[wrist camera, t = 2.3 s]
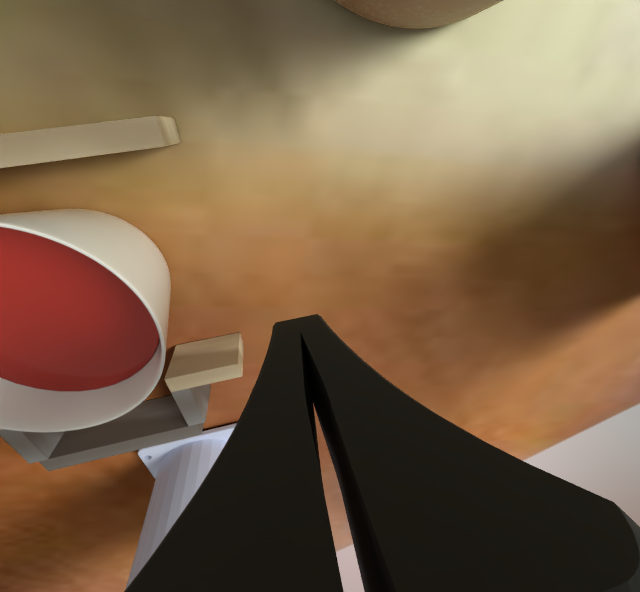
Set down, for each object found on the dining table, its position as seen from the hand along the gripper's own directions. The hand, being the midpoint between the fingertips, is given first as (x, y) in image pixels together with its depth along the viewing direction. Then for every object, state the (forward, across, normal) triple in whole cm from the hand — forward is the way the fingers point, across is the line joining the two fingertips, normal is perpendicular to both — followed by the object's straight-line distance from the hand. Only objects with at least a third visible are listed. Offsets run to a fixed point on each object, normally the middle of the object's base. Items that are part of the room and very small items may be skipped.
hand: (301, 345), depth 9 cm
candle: (+10, +10, 0) cm, 14 cm away
